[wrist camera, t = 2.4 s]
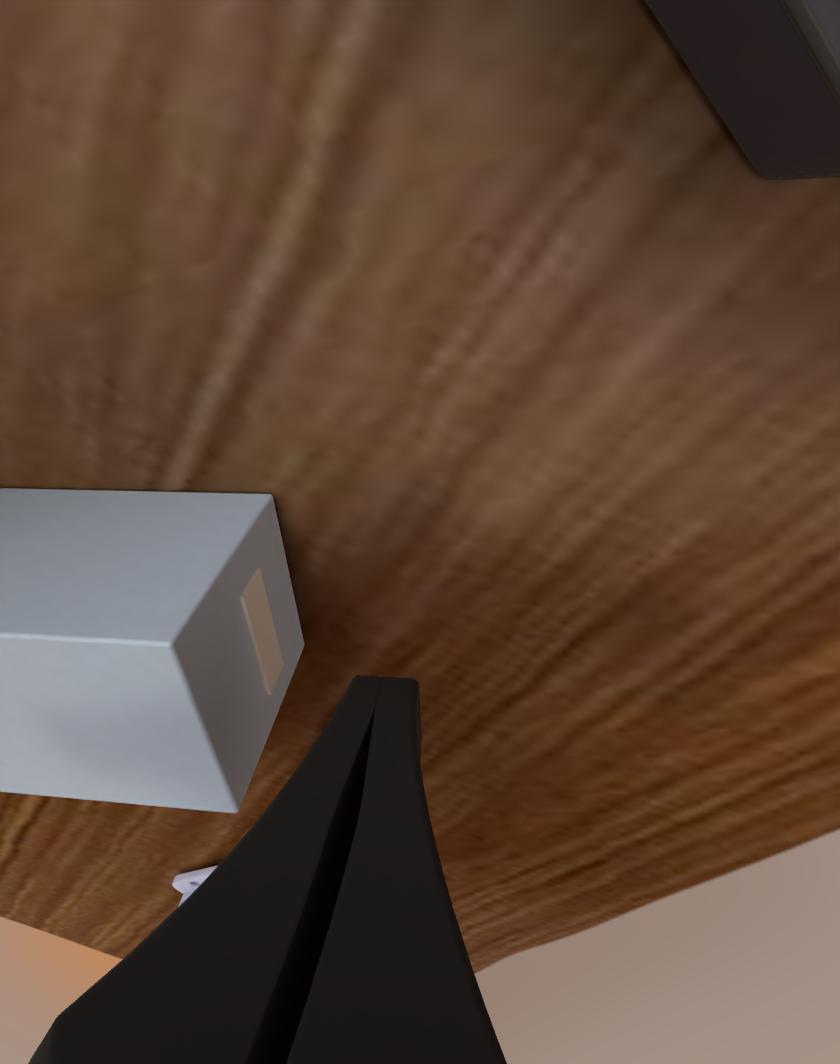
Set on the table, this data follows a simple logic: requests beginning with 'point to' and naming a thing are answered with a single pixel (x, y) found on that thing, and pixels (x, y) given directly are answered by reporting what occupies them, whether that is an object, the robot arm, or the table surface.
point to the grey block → (141, 644)
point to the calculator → (767, 76)
